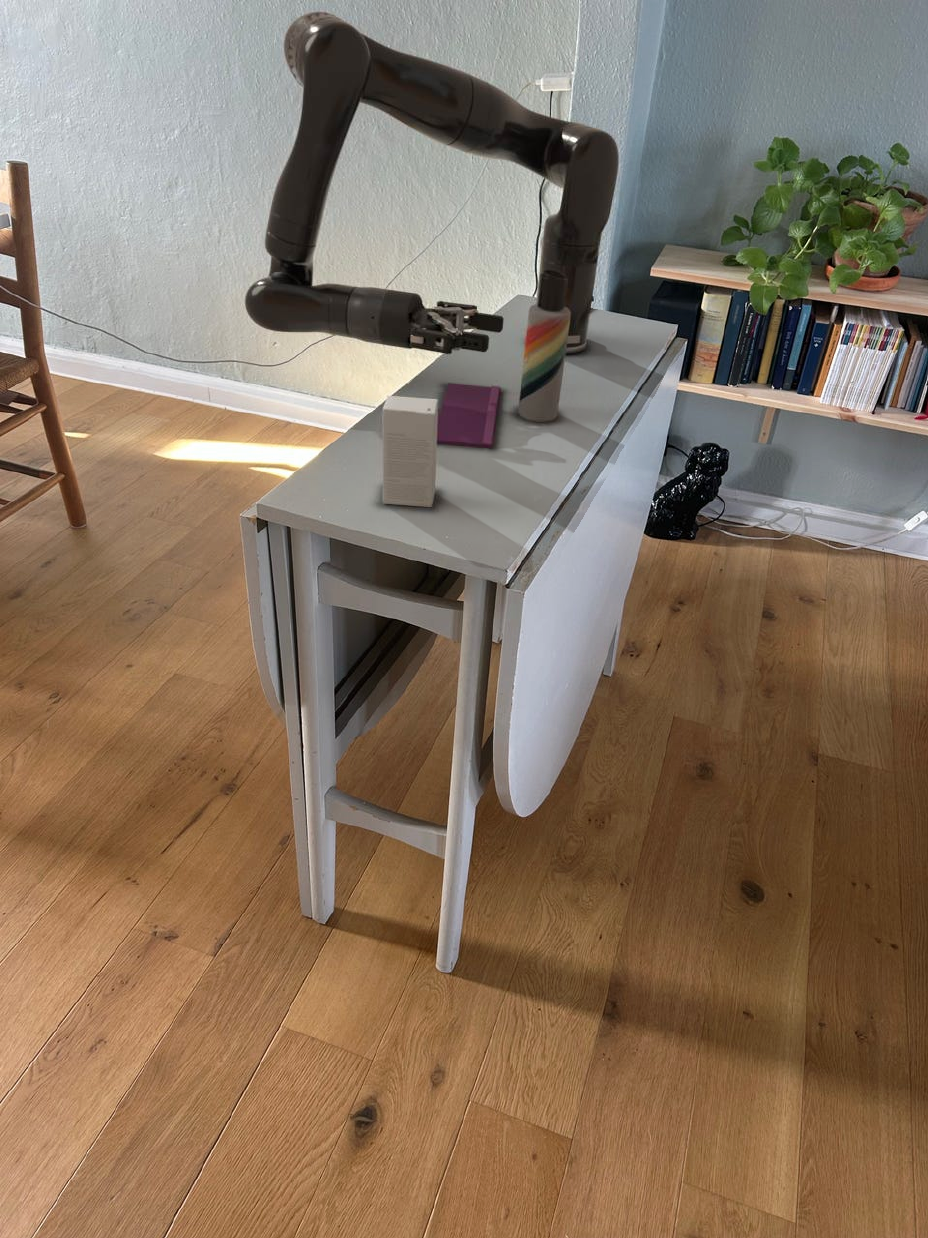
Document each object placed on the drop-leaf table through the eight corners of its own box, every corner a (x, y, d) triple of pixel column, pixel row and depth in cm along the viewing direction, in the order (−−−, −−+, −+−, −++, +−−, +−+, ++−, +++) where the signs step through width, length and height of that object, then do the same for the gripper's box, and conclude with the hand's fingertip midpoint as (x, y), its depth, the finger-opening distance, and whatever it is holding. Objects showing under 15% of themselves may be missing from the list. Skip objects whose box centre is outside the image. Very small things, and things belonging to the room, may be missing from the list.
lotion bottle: (517, 405, 132) (532, 264, 120) (556, 407, 132) (574, 267, 120) (518, 421, 127) (533, 276, 115) (558, 424, 127) (577, 279, 115)
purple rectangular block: (448, 385, 136) (448, 381, 135) (500, 390, 136) (500, 386, 135) (433, 442, 120) (433, 438, 119) (492, 448, 120) (493, 443, 119)
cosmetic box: (435, 491, 109) (440, 398, 102) (432, 508, 106) (436, 413, 98) (386, 487, 109) (387, 393, 102) (381, 504, 106) (381, 409, 99)
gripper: (367, 304, 119) (485, 322, 116) (401, 276, 130) (509, 292, 128) (368, 359, 124) (481, 377, 121) (400, 327, 135) (504, 343, 132)
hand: (495, 333), depth 124 cm, fingers open, 8 cm apart
